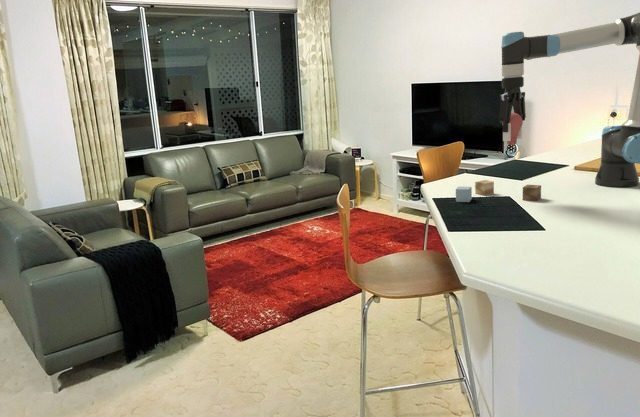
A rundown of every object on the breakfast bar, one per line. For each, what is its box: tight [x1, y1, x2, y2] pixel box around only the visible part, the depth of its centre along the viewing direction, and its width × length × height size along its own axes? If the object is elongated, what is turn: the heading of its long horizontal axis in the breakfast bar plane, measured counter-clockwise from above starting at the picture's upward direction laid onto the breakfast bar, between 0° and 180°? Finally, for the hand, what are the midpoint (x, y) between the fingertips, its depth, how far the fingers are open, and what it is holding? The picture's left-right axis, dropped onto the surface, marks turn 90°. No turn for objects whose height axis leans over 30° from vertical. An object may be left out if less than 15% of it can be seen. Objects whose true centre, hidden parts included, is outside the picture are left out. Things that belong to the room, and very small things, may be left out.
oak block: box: [474, 179, 495, 196], centre depth 205 cm, size 5×5×5 cm
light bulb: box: [501, 112, 524, 146], centre depth 190 cm, size 7×7×12 cm
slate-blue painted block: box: [455, 186, 472, 203], centre depth 196 cm, size 5×5×5 cm
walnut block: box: [522, 184, 542, 202], centre depth 190 cm, size 5×5×5 cm
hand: (512, 139), depth 191 cm, fingers closed on light bulb, 7 cm apart
